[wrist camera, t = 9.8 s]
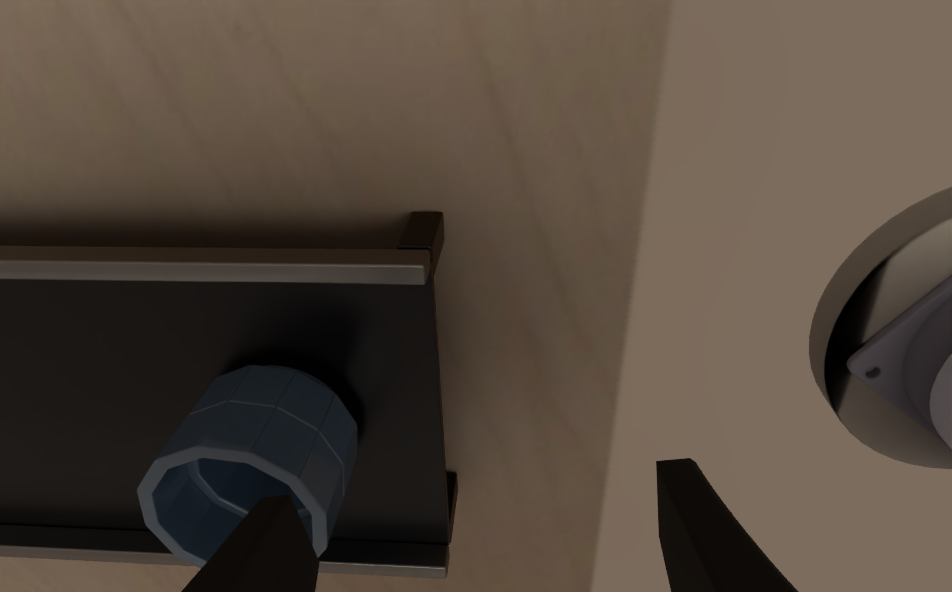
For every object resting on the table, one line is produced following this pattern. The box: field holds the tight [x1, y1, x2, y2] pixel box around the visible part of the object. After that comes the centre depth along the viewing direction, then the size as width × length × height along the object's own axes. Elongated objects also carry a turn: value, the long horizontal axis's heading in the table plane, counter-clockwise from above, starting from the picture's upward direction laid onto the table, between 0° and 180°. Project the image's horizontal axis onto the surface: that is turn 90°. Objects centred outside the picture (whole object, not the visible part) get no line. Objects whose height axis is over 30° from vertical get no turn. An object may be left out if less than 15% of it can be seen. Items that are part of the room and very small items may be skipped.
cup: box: [137, 365, 358, 568], centre depth 18 cm, size 5×5×4 cm
